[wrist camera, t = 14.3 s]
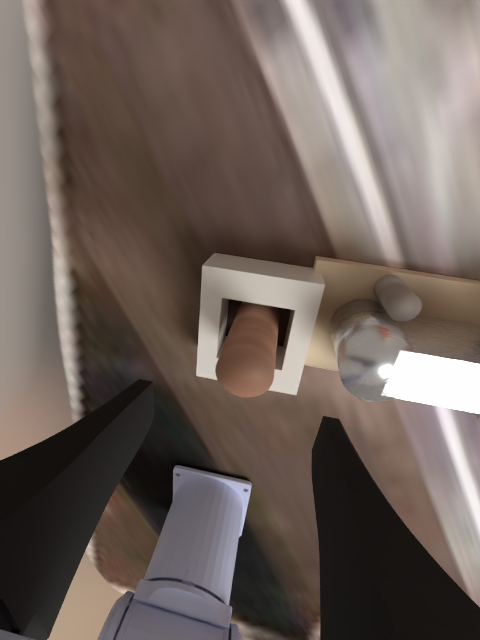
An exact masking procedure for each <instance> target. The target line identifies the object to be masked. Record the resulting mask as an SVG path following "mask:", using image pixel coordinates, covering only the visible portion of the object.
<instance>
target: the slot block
mask: <svg viewBox="0 0 480 640" xmlns="http://www.w3.org/2000/svg"><path fill="white" fill-rule="evenodd" d="M324 287H325V283H324V279H323V276H322V274H319V273H314V271H313V268H309V267H303V266H297V265H290V264H284V263H277V262H271V261H264V260H258V259H252V258H245V257H239V256H232V255H226V254H219V253H214V254H213V255H212V256H211V257H210V258H209V259H208V260H207V261H206V262H205V263H204V264H203V265H202V281H201V300H200V318H199V336H198V354H197V373H196V376H200V377H205V378H210V379H215V380H217V377H216V373H215V368H216V364H217V361H218V359H219V356H220V354H221V351H222V349H223V346H224V344H225V341H226V339H227V336H226V326H227V316H228V307H229V299H232V300H238V301H244V302H250V303H256V304H262V305H268V306H274V307H279V308H285V309H291V312H290V317H289V322H288V326H287V331H286V336H285V340H284V345H283V346H278V345H277V349H276V360H275V370H274V380H273V383H272V385H271V387H270V388H269V389H268V390H272V391H277V392H282V393H287V394H292V395H296V394H297V390H298V386H299V383H300V379H301V375H302V371H303V367H304V364H305V360H306V356H307V352H308V348H309V345H310V341H311V337H312V333H313V329H314V325H315V322H316V318H317V314H318V310H319V306H320V303H321V299H322V295H323V291H324Z"/></svg>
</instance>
